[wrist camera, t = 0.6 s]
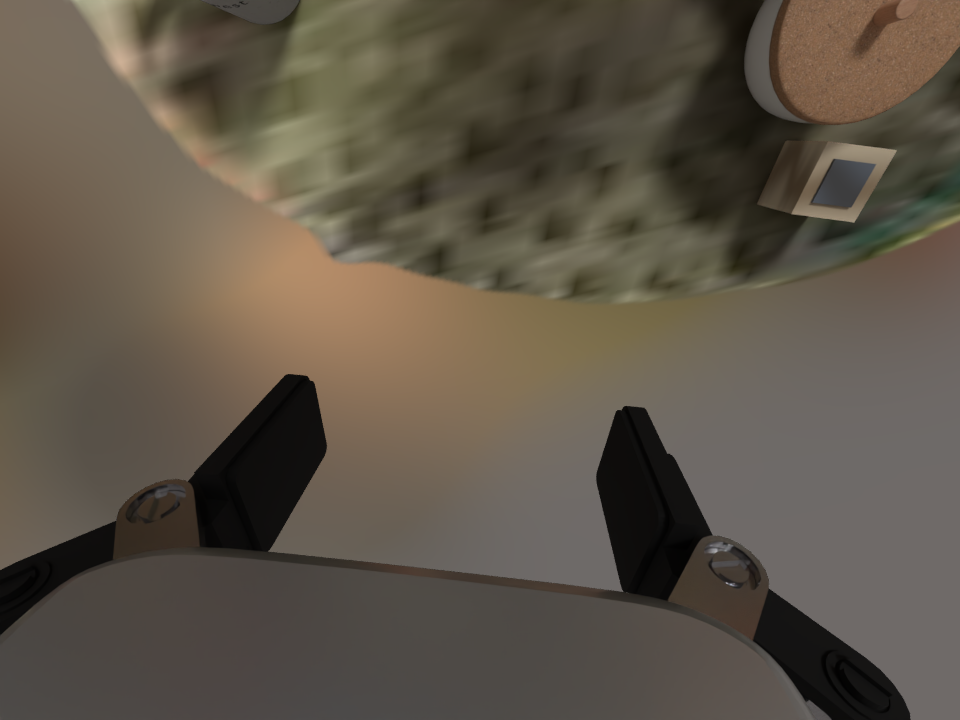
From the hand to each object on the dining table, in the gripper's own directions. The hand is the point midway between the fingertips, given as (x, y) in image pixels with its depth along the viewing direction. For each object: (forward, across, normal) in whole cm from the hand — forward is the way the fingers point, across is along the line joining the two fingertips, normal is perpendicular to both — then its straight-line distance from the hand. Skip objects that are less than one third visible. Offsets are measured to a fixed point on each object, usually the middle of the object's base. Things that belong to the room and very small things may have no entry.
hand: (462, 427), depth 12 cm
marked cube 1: (+29, -26, -6) cm, 40 cm away
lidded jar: (+30, -21, -15) cm, 39 cm away
